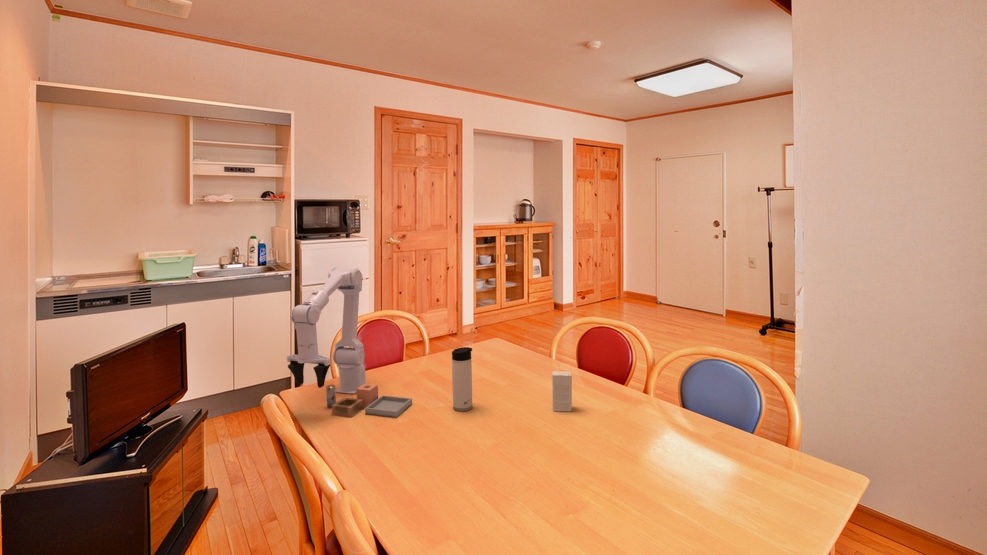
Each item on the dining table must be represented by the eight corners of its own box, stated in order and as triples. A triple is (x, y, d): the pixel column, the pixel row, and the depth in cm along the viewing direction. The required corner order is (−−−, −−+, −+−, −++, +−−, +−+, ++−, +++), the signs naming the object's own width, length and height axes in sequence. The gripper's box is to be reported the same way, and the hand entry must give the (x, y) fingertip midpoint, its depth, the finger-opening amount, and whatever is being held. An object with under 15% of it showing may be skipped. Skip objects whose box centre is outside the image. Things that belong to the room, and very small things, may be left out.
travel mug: (470, 412, 151) (469, 351, 149) (450, 411, 153) (449, 350, 150) (475, 404, 157) (474, 345, 155) (456, 403, 159) (454, 345, 156)
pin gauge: (330, 404, 159) (329, 384, 158) (337, 405, 158) (336, 385, 157) (325, 408, 156) (324, 387, 155) (332, 408, 156) (331, 388, 155)
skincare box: (570, 406, 155) (571, 371, 153) (571, 412, 151) (572, 375, 149) (552, 406, 155) (552, 370, 154) (552, 411, 151) (552, 375, 150)
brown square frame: (345, 406, 158) (344, 397, 157) (363, 408, 156) (363, 399, 155) (332, 414, 151) (331, 405, 151) (351, 417, 149) (351, 408, 149)
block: (365, 400, 162) (364, 383, 161) (378, 402, 161) (377, 384, 160) (357, 406, 158) (356, 388, 157) (370, 407, 156) (369, 390, 155)
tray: (382, 400, 162) (382, 395, 161) (412, 404, 158) (412, 398, 158) (365, 414, 151) (364, 408, 151) (396, 417, 148) (396, 411, 148)
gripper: (278, 345, 145) (282, 387, 147) (319, 348, 141) (322, 392, 143) (294, 339, 152) (297, 379, 154) (333, 342, 148) (336, 383, 150)
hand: (310, 385), depth 149 cm, fingers open, 7 cm apart
